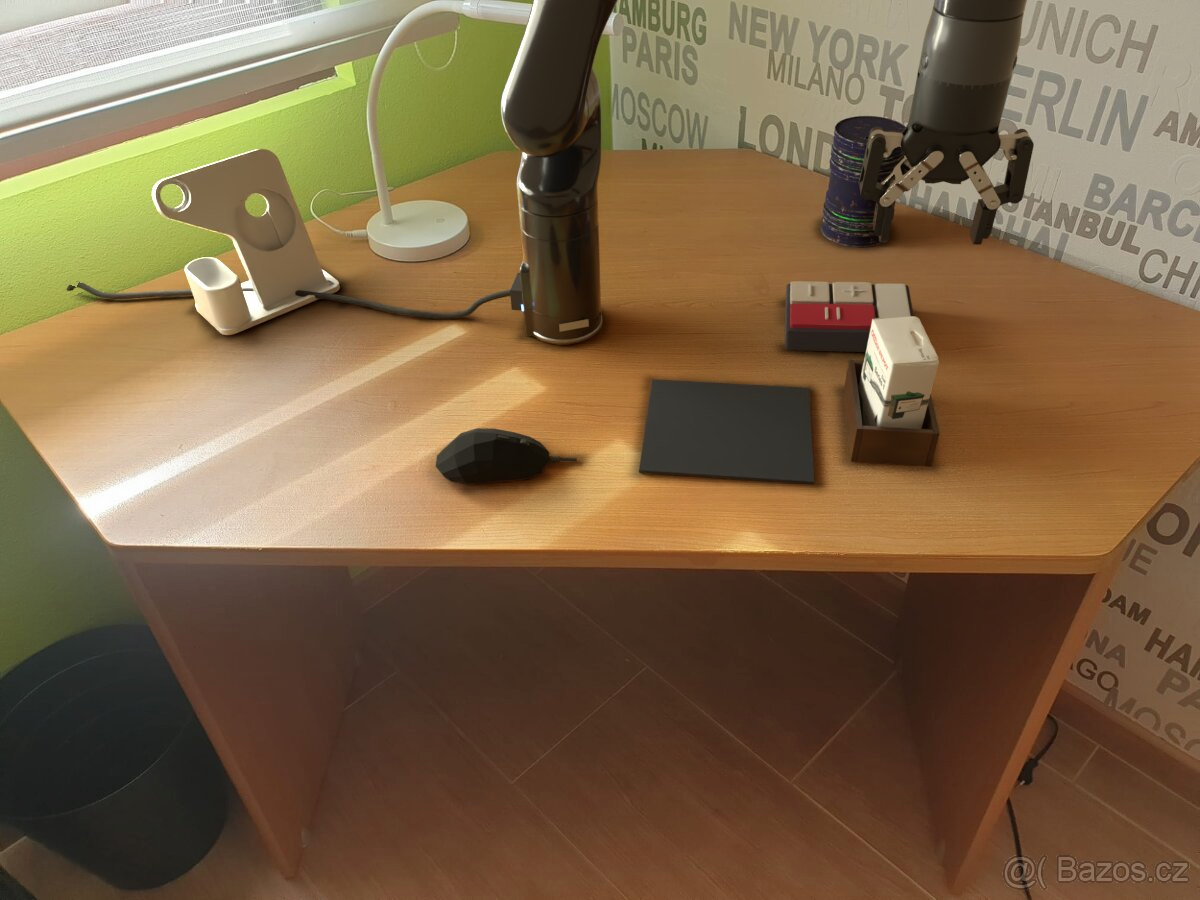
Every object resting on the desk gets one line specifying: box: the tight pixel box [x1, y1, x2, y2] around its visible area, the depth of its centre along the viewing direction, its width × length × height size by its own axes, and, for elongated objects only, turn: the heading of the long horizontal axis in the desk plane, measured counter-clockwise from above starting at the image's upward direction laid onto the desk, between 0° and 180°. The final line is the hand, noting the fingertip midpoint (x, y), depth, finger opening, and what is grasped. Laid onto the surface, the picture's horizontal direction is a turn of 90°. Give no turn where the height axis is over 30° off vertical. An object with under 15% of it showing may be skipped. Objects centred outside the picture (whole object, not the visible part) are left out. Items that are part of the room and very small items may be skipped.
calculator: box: [784, 280, 915, 353], centre depth 117 cm, size 11×4×15 cm
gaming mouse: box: [435, 427, 578, 485], centre depth 100 cm, size 6×15×4 cm, turn 93°
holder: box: [842, 359, 941, 467], centre depth 103 cm, size 8×12×4 cm
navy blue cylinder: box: [820, 115, 906, 248], centre depth 133 cm, size 10×10×15 cm
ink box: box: [858, 316, 940, 429], centre depth 100 cm, size 9×5×12 cm, turn 2°
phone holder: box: [151, 148, 341, 336], centre depth 122 cm, size 17×10×18 cm, turn 131°
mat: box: [638, 378, 816, 485], centre depth 104 cm, size 18×16×1 cm
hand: (928, 239), depth 91 cm, fingers open, 8 cm apart
